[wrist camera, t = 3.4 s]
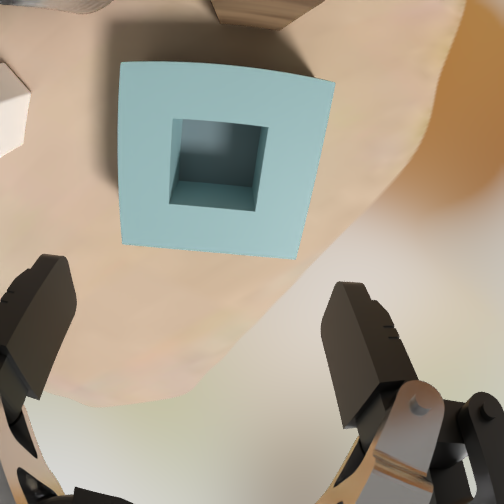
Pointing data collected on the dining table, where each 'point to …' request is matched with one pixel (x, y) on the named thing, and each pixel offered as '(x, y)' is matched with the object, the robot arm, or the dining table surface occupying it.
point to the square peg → (262, 12)
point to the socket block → (218, 156)
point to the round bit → (62, 5)
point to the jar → (12, 110)
